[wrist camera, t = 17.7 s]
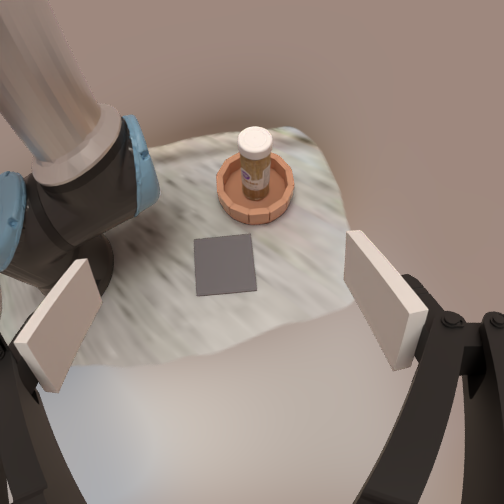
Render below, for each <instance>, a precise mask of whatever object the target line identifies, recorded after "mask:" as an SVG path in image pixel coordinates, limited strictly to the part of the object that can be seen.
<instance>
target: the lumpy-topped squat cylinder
mask: <svg viewBox="0 0 504 504" xmlns="http://www.w3.org/2000/svg"><path fill="white" fill-rule="evenodd" d="M1 313H2V296H1V287H0V318H1Z"/></svg>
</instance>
